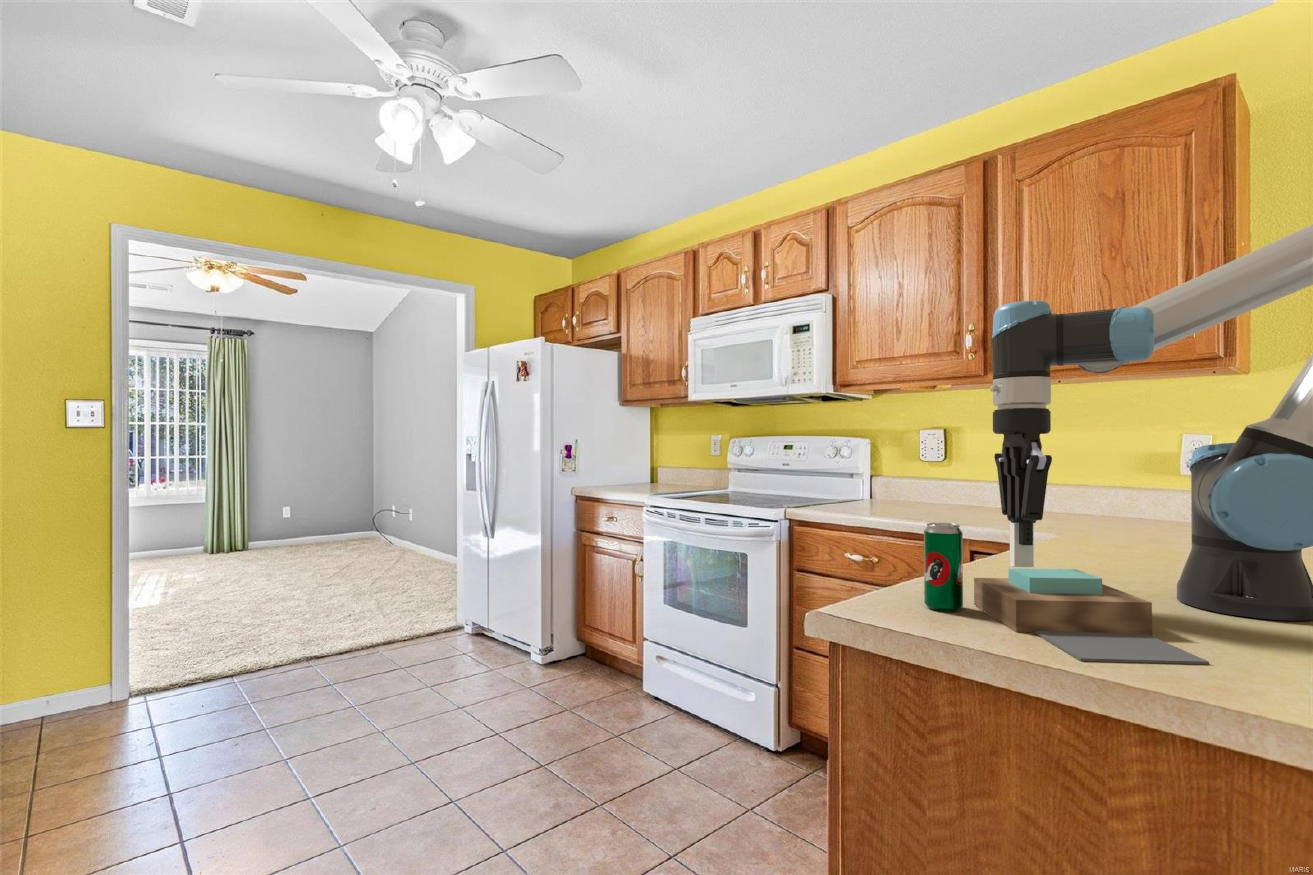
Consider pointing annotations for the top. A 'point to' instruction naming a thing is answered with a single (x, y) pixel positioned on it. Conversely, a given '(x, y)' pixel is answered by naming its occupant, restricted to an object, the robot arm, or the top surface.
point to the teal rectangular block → (1055, 581)
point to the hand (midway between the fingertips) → (1021, 565)
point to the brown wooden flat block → (1063, 609)
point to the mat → (1118, 647)
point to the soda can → (943, 567)
